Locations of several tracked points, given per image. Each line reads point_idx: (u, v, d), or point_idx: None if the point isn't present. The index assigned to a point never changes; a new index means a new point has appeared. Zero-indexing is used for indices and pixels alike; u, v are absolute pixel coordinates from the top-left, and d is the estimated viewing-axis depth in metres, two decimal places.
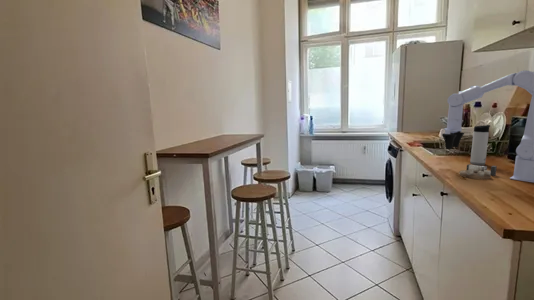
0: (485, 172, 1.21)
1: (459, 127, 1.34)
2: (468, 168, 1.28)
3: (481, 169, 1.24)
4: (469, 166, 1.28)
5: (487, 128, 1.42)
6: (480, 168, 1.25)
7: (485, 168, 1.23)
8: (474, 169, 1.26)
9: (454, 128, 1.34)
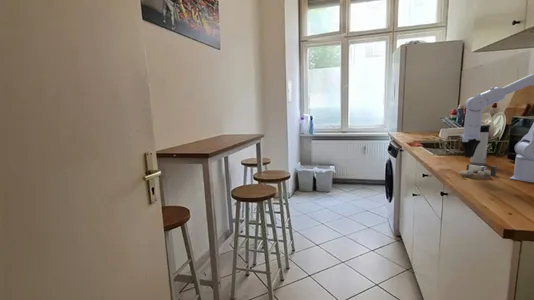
0: (485, 172, 1.21)
1: (478, 134, 1.20)
2: (468, 168, 1.28)
3: (481, 169, 1.24)
4: (469, 166, 1.28)
5: (487, 128, 1.42)
6: (480, 168, 1.25)
7: (485, 168, 1.23)
8: (474, 169, 1.26)
9: (472, 135, 1.20)
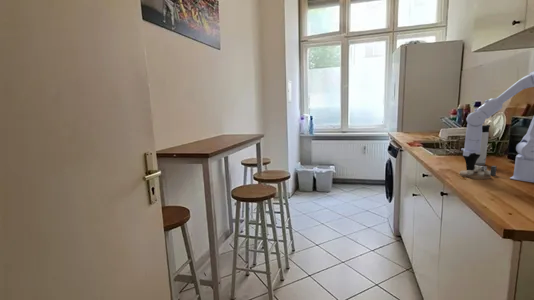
0: (485, 172, 1.21)
1: (478, 148, 1.23)
2: None
3: (481, 169, 1.24)
4: None
5: (487, 128, 1.42)
6: (480, 168, 1.25)
7: (485, 168, 1.23)
8: (474, 169, 1.26)
9: (473, 149, 1.23)
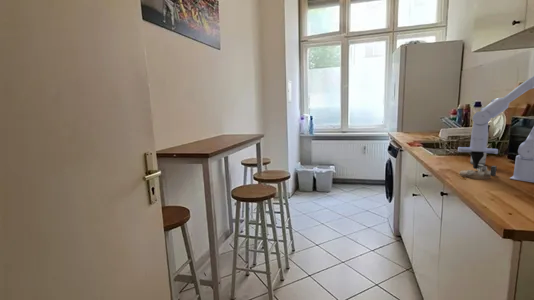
0: (485, 172, 1.21)
1: (476, 147, 1.26)
2: None
3: (480, 168, 1.25)
4: (477, 165, 1.30)
5: None
6: (480, 167, 1.26)
7: (482, 168, 1.24)
8: (478, 168, 1.28)
9: (471, 147, 1.28)
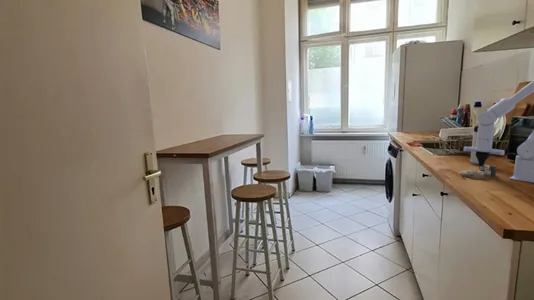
0: (485, 172, 1.21)
1: (479, 147, 1.26)
2: None
3: None
4: (483, 165, 1.29)
5: None
6: None
7: (481, 167, 1.25)
8: None
9: (475, 147, 1.29)
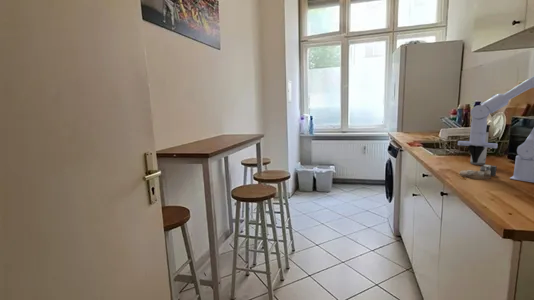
0: (485, 172, 1.21)
1: (473, 140, 1.28)
2: None
3: None
4: None
5: (487, 128, 1.42)
6: None
7: (480, 167, 1.25)
8: None
9: (469, 141, 1.30)
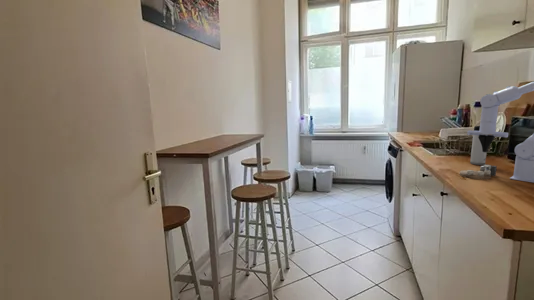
0: (485, 172, 1.21)
1: (483, 130, 1.27)
2: None
3: None
4: None
5: None
6: None
7: (480, 167, 1.25)
8: None
9: (479, 130, 1.29)
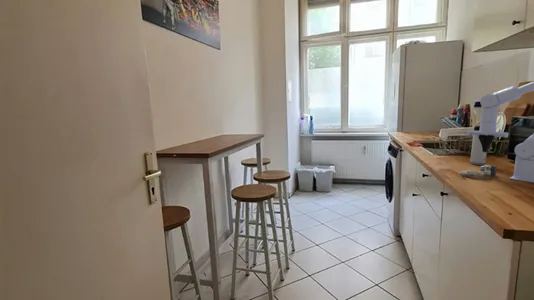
0: (485, 172, 1.21)
1: (483, 130, 1.27)
2: None
3: None
4: None
5: None
6: None
7: (480, 167, 1.25)
8: None
9: (479, 130, 1.29)
